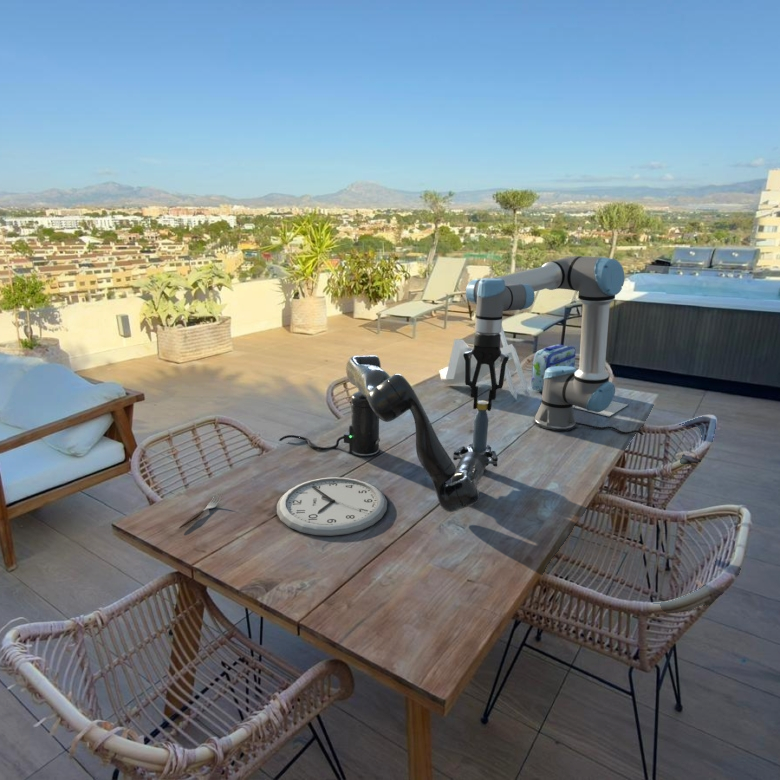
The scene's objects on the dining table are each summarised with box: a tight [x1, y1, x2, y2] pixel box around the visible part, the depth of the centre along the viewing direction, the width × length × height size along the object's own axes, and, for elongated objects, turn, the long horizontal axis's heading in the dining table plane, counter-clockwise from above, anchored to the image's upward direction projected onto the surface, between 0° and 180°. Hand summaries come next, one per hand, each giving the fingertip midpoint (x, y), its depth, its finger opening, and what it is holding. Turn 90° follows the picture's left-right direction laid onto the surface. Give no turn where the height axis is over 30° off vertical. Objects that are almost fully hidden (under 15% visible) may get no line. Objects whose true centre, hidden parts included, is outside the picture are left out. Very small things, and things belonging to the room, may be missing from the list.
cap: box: [476, 399, 488, 411], centre depth 159 cm, size 4×4×2 cm
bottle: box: [472, 409, 489, 453], centre depth 162 cm, size 4×4×22 cm
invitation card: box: [573, 400, 629, 418], centre depth 226 cm, size 21×1×15 cm
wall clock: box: [276, 476, 388, 537], centre depth 142 cm, size 30×2×30 cm
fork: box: [178, 493, 223, 529], centre depth 137 cm, size 3×16×2 cm, turn 160°
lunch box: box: [530, 344, 577, 392], centre depth 247 cm, size 26×11×21 cm, turn 134°
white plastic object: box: [438, 326, 531, 400], centre depth 245 cm, size 37×45×31 cm
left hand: (480, 446), depth 166 cm, fingers closed on bottle, 4 cm apart
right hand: (482, 408), depth 159 cm, fingers closed on cap, 4 cm apart
